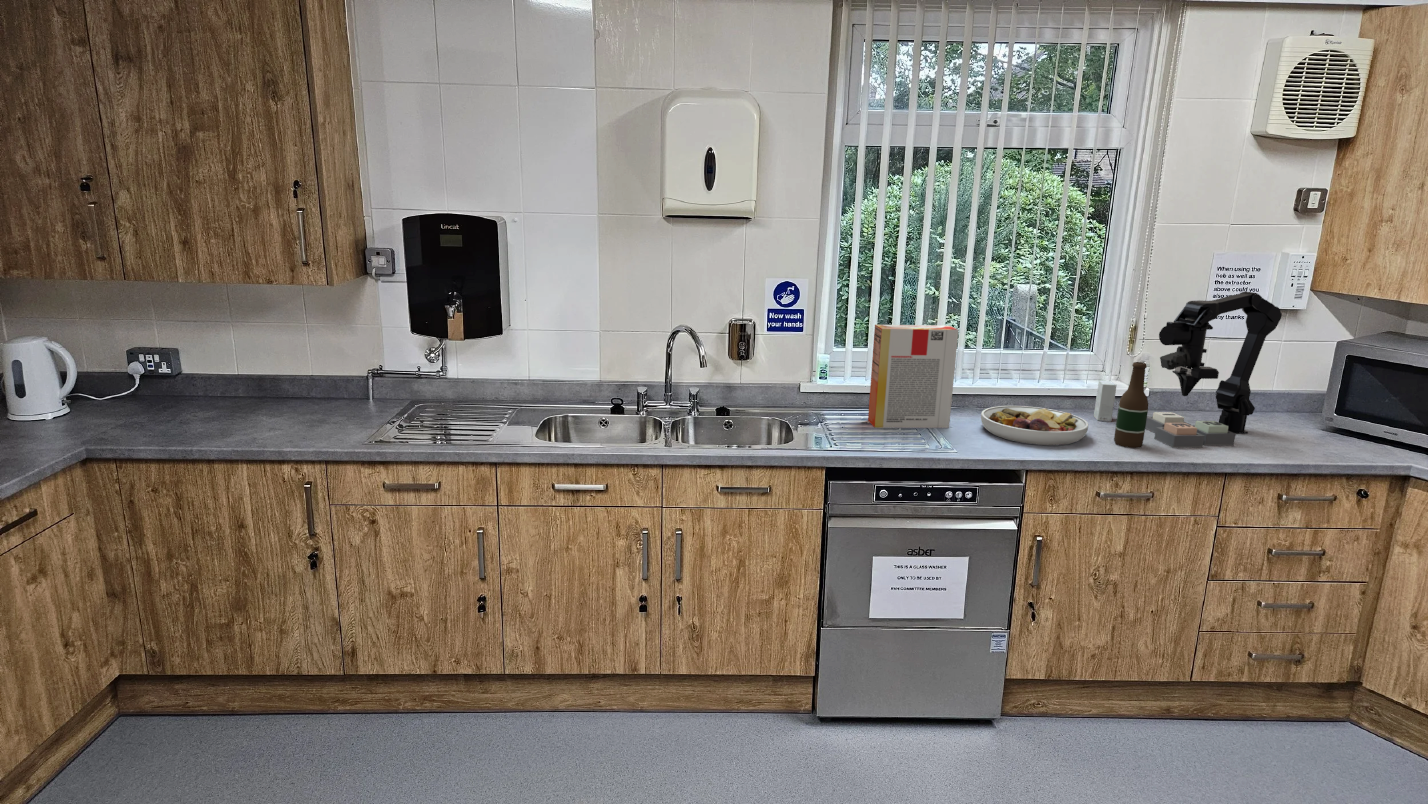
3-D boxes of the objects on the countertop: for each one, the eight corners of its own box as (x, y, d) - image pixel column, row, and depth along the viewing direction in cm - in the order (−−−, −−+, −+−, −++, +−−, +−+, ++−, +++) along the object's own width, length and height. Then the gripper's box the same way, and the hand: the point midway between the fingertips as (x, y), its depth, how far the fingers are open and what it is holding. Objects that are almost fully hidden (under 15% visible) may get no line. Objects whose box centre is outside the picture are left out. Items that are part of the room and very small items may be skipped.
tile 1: (1170, 419, 263) (1172, 411, 262) (1182, 425, 257) (1184, 416, 257) (1152, 419, 262) (1153, 411, 262) (1164, 425, 257) (1165, 416, 256)
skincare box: (1111, 421, 271) (1117, 385, 268) (1097, 420, 271) (1102, 384, 268) (1107, 417, 276) (1112, 381, 273) (1093, 416, 277) (1098, 380, 274)
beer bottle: (1107, 440, 249) (1119, 360, 244) (1133, 440, 250) (1145, 360, 244) (1122, 448, 242) (1134, 365, 236) (1148, 448, 243) (1161, 365, 237)
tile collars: (1192, 427, 266) (1193, 416, 265) (1238, 447, 246) (1240, 435, 245) (1131, 427, 264) (1132, 416, 263) (1172, 447, 244) (1174, 435, 243)
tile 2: (1213, 428, 254) (1214, 420, 253) (1227, 434, 248) (1228, 425, 248) (1194, 428, 253) (1195, 420, 253) (1207, 434, 248) (1209, 425, 247)
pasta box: (940, 420, 266) (949, 325, 259) (948, 427, 259) (958, 329, 251) (867, 420, 265) (874, 324, 257) (874, 427, 257) (881, 328, 250)
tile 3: (1182, 430, 251) (1184, 422, 250) (1195, 436, 245) (1197, 427, 245) (1163, 430, 250) (1164, 422, 250) (1176, 436, 245) (1177, 427, 244)
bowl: (975, 417, 273) (978, 393, 271) (1075, 425, 267) (1078, 400, 265) (984, 443, 244) (987, 417, 242) (1096, 452, 238) (1100, 425, 236)
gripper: (1148, 338, 259) (1141, 388, 263) (1187, 350, 241) (1178, 403, 245) (1183, 339, 260) (1175, 388, 264) (1224, 350, 242) (1214, 403, 246)
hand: (1184, 396), depth 255 cm, fingers closed
